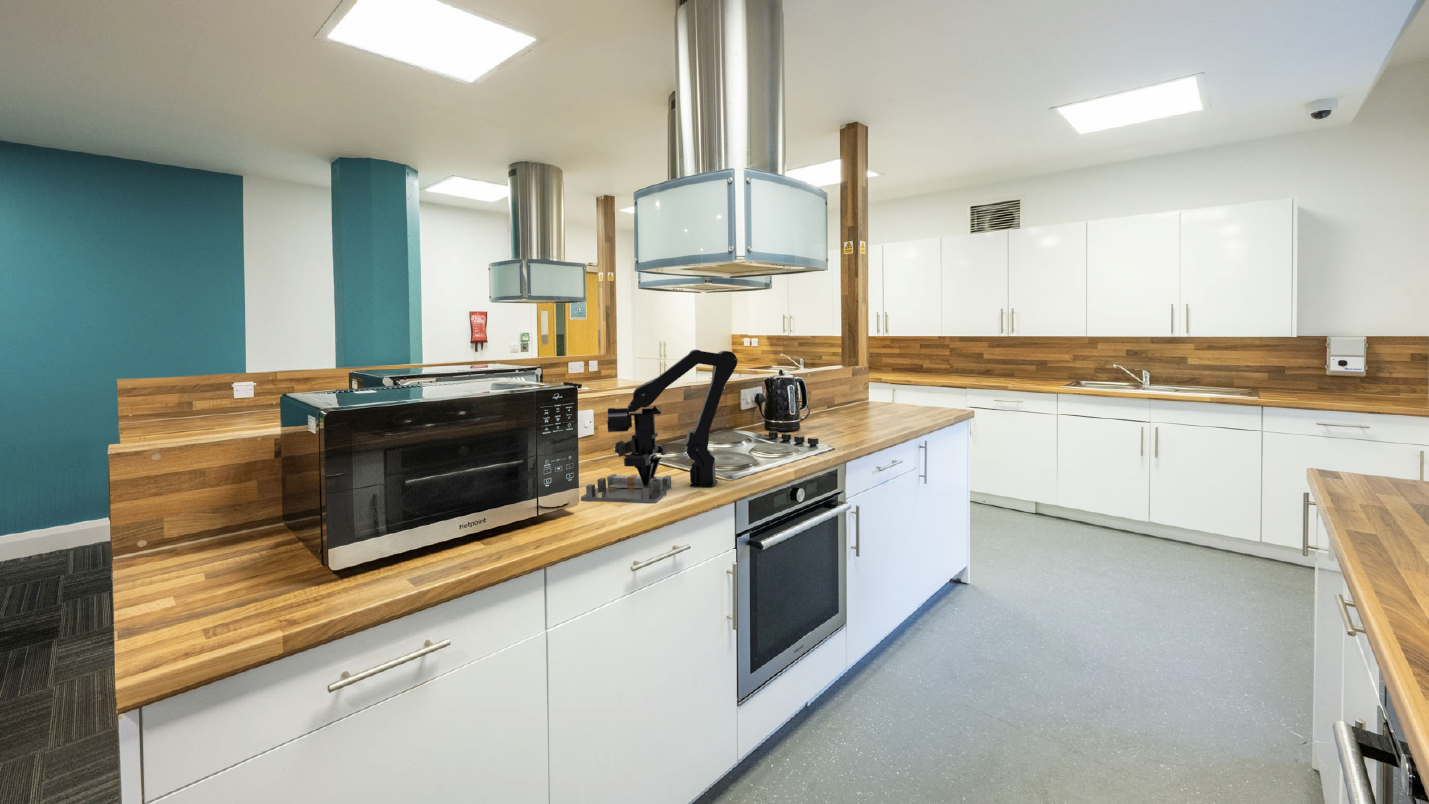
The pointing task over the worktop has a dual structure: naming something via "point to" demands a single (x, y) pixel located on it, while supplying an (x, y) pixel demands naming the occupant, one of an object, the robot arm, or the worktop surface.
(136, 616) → the worktop surface
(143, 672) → the worktop surface
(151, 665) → the worktop surface
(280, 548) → the worktop surface
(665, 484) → the tube
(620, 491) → the cradle
